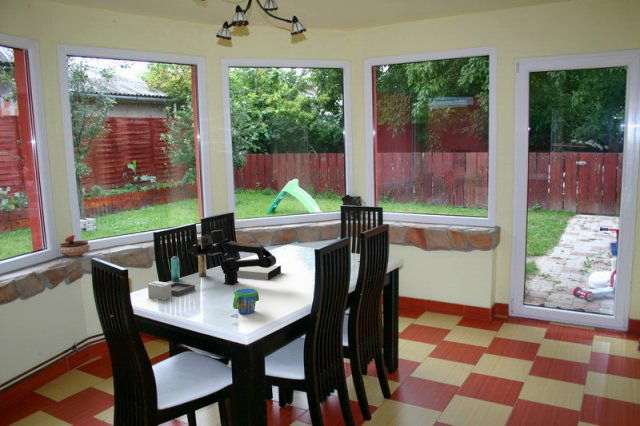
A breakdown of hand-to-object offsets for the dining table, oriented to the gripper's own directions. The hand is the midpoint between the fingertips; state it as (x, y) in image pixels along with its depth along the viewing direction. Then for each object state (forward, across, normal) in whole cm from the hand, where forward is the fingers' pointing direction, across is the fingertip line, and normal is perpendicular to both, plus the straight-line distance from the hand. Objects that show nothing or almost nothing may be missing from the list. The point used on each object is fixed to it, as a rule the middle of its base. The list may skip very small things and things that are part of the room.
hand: (192, 251), depth 295 cm
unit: (-2, +32, +23) cm, 39 cm away
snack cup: (-54, +34, +33) cm, 72 cm away
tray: (-4, +21, +21) cm, 30 cm away
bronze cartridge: (+2, -10, +14) cm, 18 cm away
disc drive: (-27, -26, +18) cm, 41 cm away
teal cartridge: (+10, +4, +16) cm, 19 cm away
